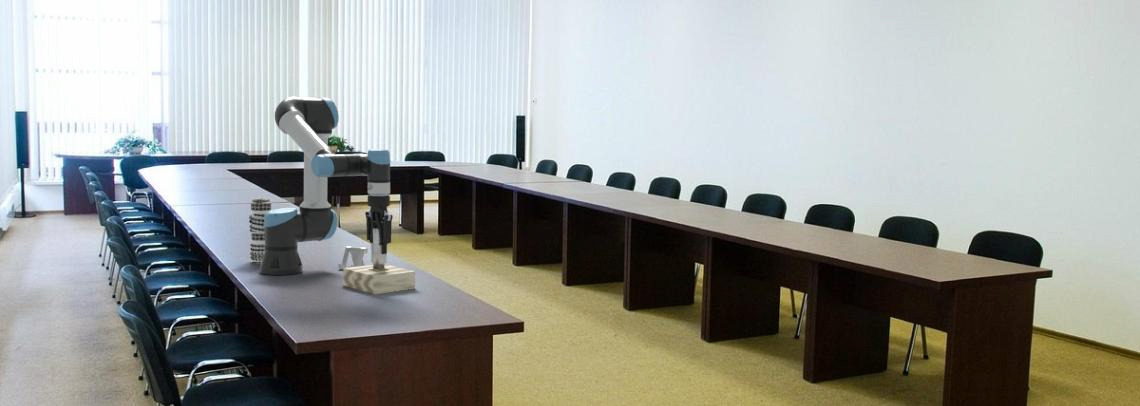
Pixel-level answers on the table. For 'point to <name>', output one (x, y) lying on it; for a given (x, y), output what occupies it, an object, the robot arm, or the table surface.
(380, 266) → the steel pin
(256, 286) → the table surface
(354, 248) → the portable electronic device stand
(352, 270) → the block
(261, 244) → the decorative candle
